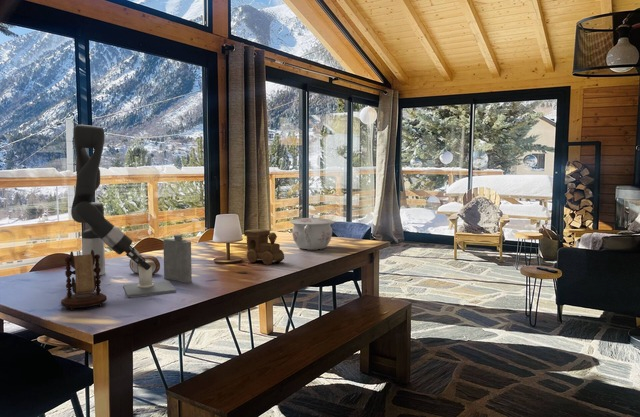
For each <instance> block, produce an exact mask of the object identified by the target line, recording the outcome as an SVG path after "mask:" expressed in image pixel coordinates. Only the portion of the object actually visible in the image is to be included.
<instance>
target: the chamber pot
mask: <svg viewBox="0 0 640 417" xmlns="http://www.w3.org/2000/svg"><path fill="white" fill-rule="evenodd" d="M289 223H290V224H293V228H292V239H293V241H294V243H295V245H296V246H297V247H298V248H300V249H301V250H304V249H307V250H306V251H319V250H318V249H320V250H323V249H325V248H327V247H328V246H329V244H330V242H331V240H332V236H333V228H332V226H331V225H332V224H335V221H334V220H332V219H328V218H322V217H321V218H320V217H314V215H313V214H311V217H302V218H296V219H293V220H290V222H289Z"/></svg>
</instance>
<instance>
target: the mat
mask: <svg viewBox="0 0 640 417" xmlns="http://www.w3.org/2000/svg"><path fill="white" fill-rule="evenodd" d="M152 283H153V284H154V286H153V287H150V288H139V287H138V284H139V282H137V283H135V282H134V283H126V284H123V285H122V286H123V290H124V292H125V294H126V298H135V297H144V296H145V297H146V296H153V295H154V296H155V295H163V294H171V293H176V292H177V290H176V288H175V287H174V286H173V284H172V283H171V282H170V280H169V279H166V280H157V281H156V280H155V281H152Z"/></svg>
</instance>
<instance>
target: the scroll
mask: <svg viewBox="0 0 640 417" xmlns="http://www.w3.org/2000/svg"><path fill="white" fill-rule="evenodd" d="M69 253H70V254H69V256H67V257H65V259H64V261H65V265H66V266H65V272H64V274H65V276H66V280H65V282H66V285H65V287H66V291H67V292H66V296H65V297H64V298H62V299H61V300H60V305H61V306H62V307H65V308H69V309H70V311H71V312H74V310H75V308H85V307H92V306H97V305H99V306H100V307H103V306H104V303H105V302H106V301H108V298H107V295H106V294H104V293H102V291H101V283H102V281H101V280H100V279H101V275H99V273H100V271H101V269H100V267H99V266H100V264H99V261H100V260H98V259H100V255H98V254H96V255H95V254H94V251H93V250H91V254H88V255H83V254H79V255H74V252H73V250H72V251H70V252H69ZM95 259H96V260H95ZM95 261H96V263H95ZM94 264H95V266H96V267H95V268H93V265H94ZM71 268H73V269H74V270H73V271H72V270H71ZM94 272H96V276H95V275H94ZM73 275H74V276H73ZM72 276H73V277H72ZM71 277H72V278H71Z"/></svg>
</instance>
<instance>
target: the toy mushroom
mask: <svg viewBox="0 0 640 417" xmlns="http://www.w3.org/2000/svg"><path fill="white" fill-rule="evenodd" d="M145 262H147V263H148V264H149V265H150V266H151V267H150V268H149V269H148V270H146V269H144V268H143V267H142V266H141V265H138V264H137V266H139V274H138V283H139V284H138V287H139V288H150V287H153V286H154V284H153V283H152V282H153V274H152V265H154V262H153V261H145Z"/></svg>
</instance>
